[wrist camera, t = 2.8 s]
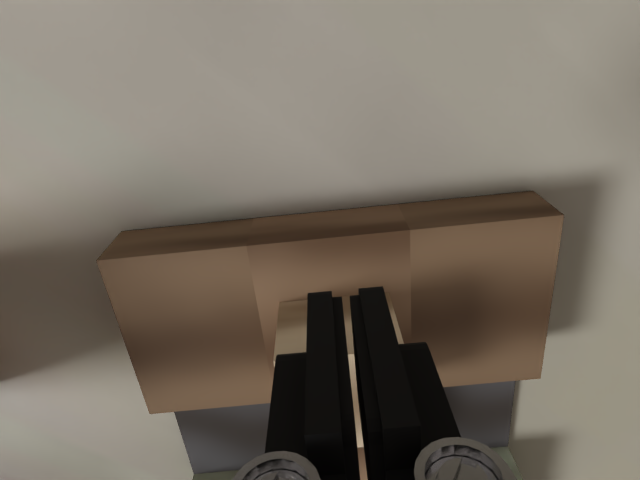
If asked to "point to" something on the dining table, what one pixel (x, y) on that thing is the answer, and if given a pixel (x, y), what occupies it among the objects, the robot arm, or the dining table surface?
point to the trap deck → (343, 280)
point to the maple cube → (295, 334)
